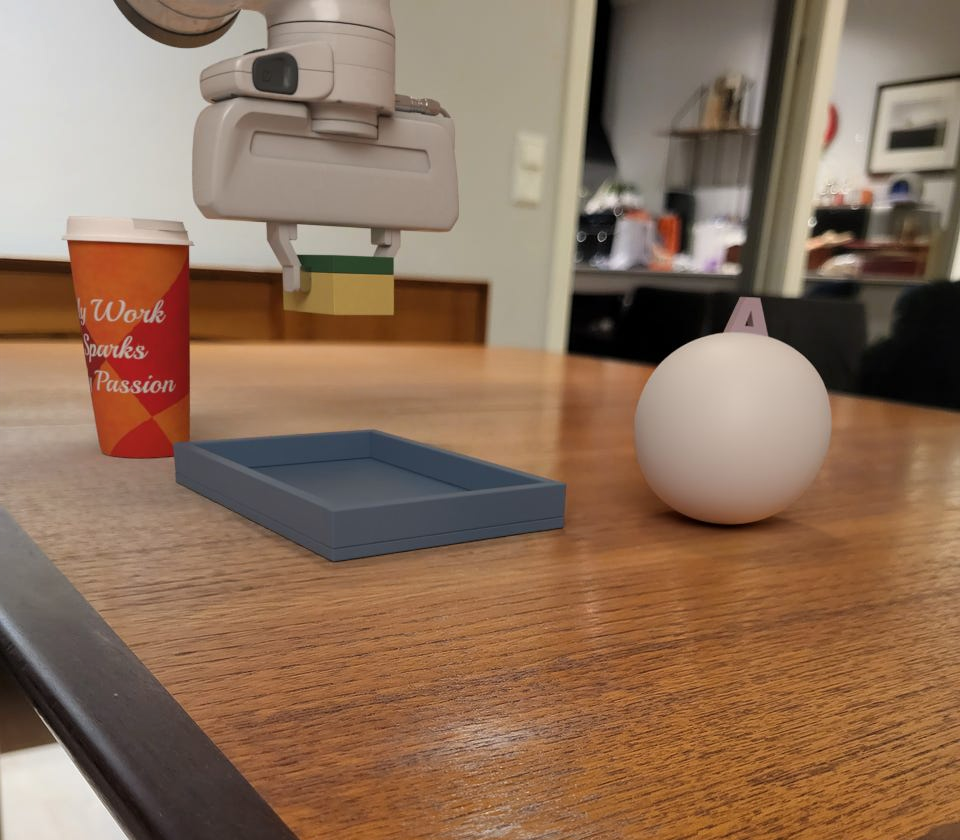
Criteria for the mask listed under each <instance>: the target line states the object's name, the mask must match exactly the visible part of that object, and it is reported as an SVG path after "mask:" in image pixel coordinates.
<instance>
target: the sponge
mask: <svg viewBox="0 0 960 840" xmlns="http://www.w3.org/2000/svg"><path fill="white" fill-rule="evenodd" d="M296 255H297V257H298V259H299V261H300V263H301V265H302V267H311V272H312V273H311V279H310V281H311V282H312V288H311V291H310V292H286V291H285V290H284V286H283V285H282V297H283V310H284V311H288V312H289V311H290V312H298V313H299V312H300V313H310V314H319V315H327V316H328V315H329V316H395V275H394V274H395V258H393V257H373V256H369V255H368V256H366V255H347V254H345V255H344V254H343V255H342V254H296ZM281 267H282V269H281V270H282V275H283V266H282V265H281Z"/></svg>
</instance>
